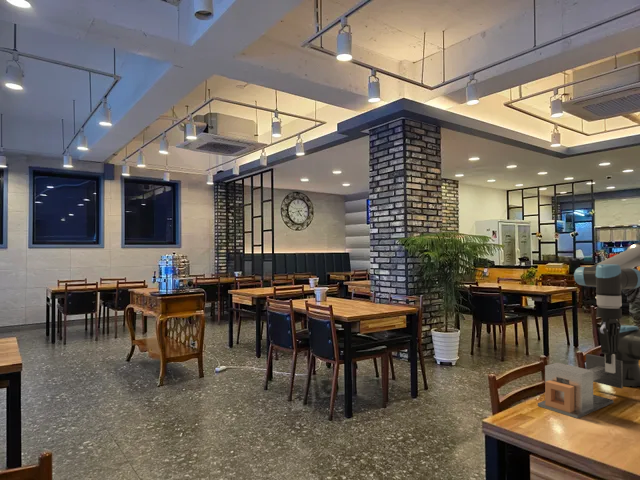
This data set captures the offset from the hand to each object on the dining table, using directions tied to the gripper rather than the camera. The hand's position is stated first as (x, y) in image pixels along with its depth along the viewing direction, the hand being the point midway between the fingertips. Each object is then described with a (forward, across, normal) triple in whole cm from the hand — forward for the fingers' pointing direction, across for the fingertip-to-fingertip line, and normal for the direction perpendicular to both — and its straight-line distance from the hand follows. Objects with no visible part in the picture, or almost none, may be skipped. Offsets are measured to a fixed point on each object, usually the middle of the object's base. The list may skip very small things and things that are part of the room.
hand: (610, 372), depth 153 cm
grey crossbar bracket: (+7, +6, -5) cm, 10 cm away
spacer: (+9, +26, -5) cm, 28 cm away
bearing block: (+10, +15, -5) cm, 18 cm away
